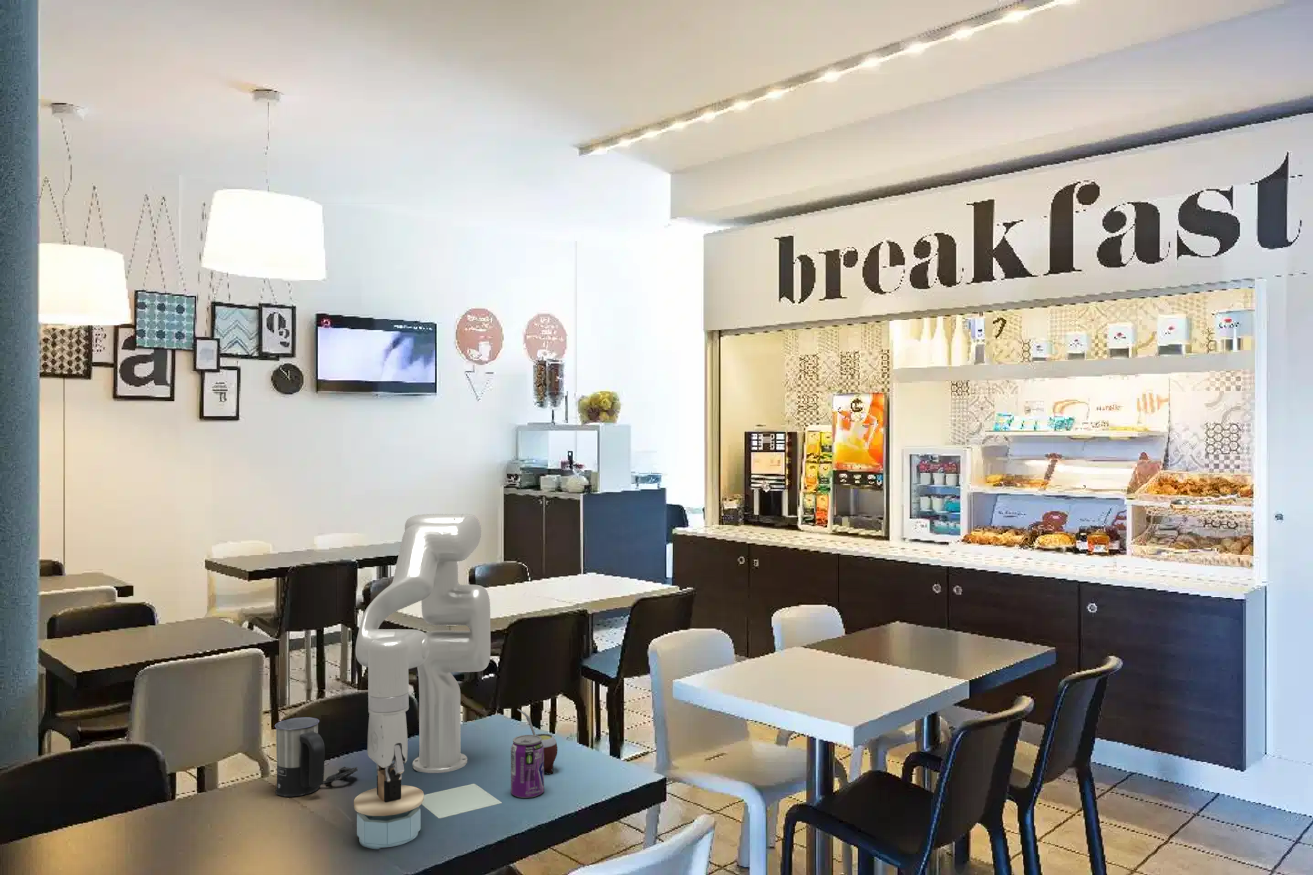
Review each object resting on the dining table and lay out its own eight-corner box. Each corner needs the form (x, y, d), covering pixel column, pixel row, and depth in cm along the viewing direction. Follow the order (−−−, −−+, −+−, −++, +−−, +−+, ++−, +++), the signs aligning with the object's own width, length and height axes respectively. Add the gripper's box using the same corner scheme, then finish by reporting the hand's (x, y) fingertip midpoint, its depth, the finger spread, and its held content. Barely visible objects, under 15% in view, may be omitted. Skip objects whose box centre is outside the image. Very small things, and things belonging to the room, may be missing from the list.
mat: (413, 799, 201) (413, 797, 201) (474, 785, 209) (474, 783, 209) (439, 820, 190) (439, 818, 190) (502, 804, 198) (502, 802, 198)
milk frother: (265, 794, 205) (265, 725, 205) (317, 770, 219) (316, 707, 219) (316, 803, 199) (316, 733, 199) (366, 778, 214) (366, 713, 214)
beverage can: (537, 801, 199) (537, 745, 200) (506, 799, 201) (505, 743, 201) (548, 789, 206) (548, 734, 207) (517, 787, 208) (517, 733, 208)
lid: (344, 799, 184) (344, 768, 184) (409, 785, 191) (409, 755, 191) (366, 821, 173) (366, 788, 173) (434, 805, 180) (433, 773, 181)
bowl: (351, 834, 183) (351, 808, 183) (406, 820, 190) (406, 796, 190) (370, 854, 174) (370, 827, 174) (427, 839, 181) (426, 813, 181)
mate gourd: (563, 769, 219) (563, 705, 219) (541, 779, 213) (541, 713, 213) (538, 763, 223) (538, 700, 223) (516, 773, 217) (516, 708, 217)
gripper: (355, 696, 187) (356, 789, 187) (384, 715, 173) (384, 815, 173) (392, 690, 191) (393, 781, 191) (423, 708, 178) (423, 806, 178)
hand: (389, 796), depth 182 cm, fingers closed on lid, 3 cm apart
